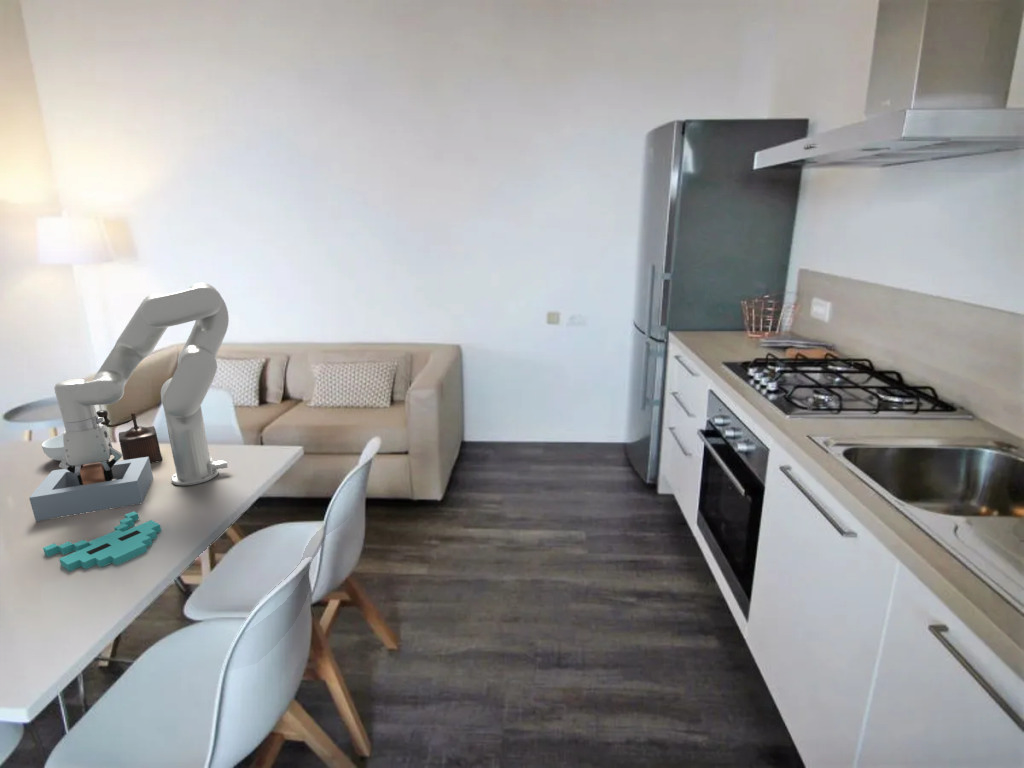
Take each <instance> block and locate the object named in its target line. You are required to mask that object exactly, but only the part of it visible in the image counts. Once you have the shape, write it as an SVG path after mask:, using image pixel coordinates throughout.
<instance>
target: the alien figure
mask: <svg viewBox="0 0 1024 768" xmlns="http://www.w3.org/2000/svg"><path fill="white" fill-rule="evenodd" d="M138 519H139V520H140V515H139V513H138V512H136V511H130V512H129V513H126V514H124V519H121V520H119V524H118V525H116V526H114V527H113V529H114V531H112V532H108V533H107V534H105V535H102V536H99V537H96V538H95V539H92V540H90V541H87V540H86V539H82V540H79V541H77V542H74V543H72V542H71V541H66V542H64V543H61V544H59V545H58V544H56V543H55V542H54V543H51V544H49V545H45V546H44V547H42V550H43V553H44V555H46V556H47V557H48V558H50V557H51V556H54V555H56V554H59V553H60V554H62V555H63V556H62V557H59V563H60V566H61V567H63V568H64V569H66V570H67V571H68V572H71V571H73V570H74V571H75V570H76V569H79V568H82V569H84V570H88V569H89V568H93V567H94V566H98V567H100V568H103V567H106V566H107V565H110V564H114V565H115V566H118V565H121V564H123V563H125V562H127V561H129V560H132V559H134V558H136V557H138V556H140V555H142V554H145V553H147V552H148V547H150V546H152V545H153V541H152V540H154V539H157V538H158V536H157V533H160V532H162V527H161V524H159V522H156V521H154V520H152V519H150V520H147V521H145V522H143V523H141V524H137V525H136V526H135V522H136V520H137V521H139V520H138ZM129 527H130V528H129Z"/></svg>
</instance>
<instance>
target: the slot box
mask: <svg viewBox="0 0 1024 768" xmlns="http://www.w3.org/2000/svg"><path fill="white" fill-rule="evenodd" d="M111 470H112V473H113V479H112V481H106V482H100V483H93V484H87V485H80V484H79V481H78V477H77V476H76V475H75V474H74V473H72V472H70V471H68V470H67V469H64V468H61V469H54V470H51V471H50V472H49V474H47V476H46V478H44V479H43V481H42V482H41V483H40V484H39V485H38V486H37V488H36V489H35V490H34V491H33V492H32V494H31V495H30V496H29V497H28V499H29V502H30V506H31V509H32V512H33V513H32V514H33V516H34V520H35V522H36V521H37V522H43V521H47V520H46V519H49V520H52V519H51V518H55V519H58V518H57V517H61V516H66V517H68V516H67V515H72V516H75V515H74V514H78V515H81V514H80V513H84V514H87V513H86V512H90V513H94V512H93V511H96V512H100V510H101V511H107V510H111V509H110V508H113V509H118V508H117V507H119V508H123V507H122V506H125V507H129V506H128V505H131V506H134V505H133V504H136V505H141V504H140V503H142V504H143V502H144V499H145V498H144V497H146V495H147V494H148V491H147V490H149V489H150V486H151V484H152V482H153V479H154V476H153V471H152V465H151V464H150V460H149V457H143V458H136V459H129V460H123V459H122V460H118V461H117V462H116V463H115V464H114V465H113V466H112V467H111ZM151 481H152V482H151ZM150 483H151V484H150ZM106 509H107V510H106ZM61 518H62V517H61ZM42 520H43V521H42Z"/></svg>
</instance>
